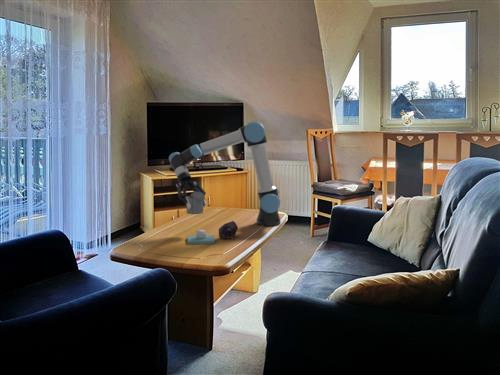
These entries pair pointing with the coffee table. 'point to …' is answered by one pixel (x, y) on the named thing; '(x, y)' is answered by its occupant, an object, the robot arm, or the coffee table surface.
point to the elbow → (196, 203)
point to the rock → (228, 230)
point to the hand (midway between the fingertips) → (197, 206)
